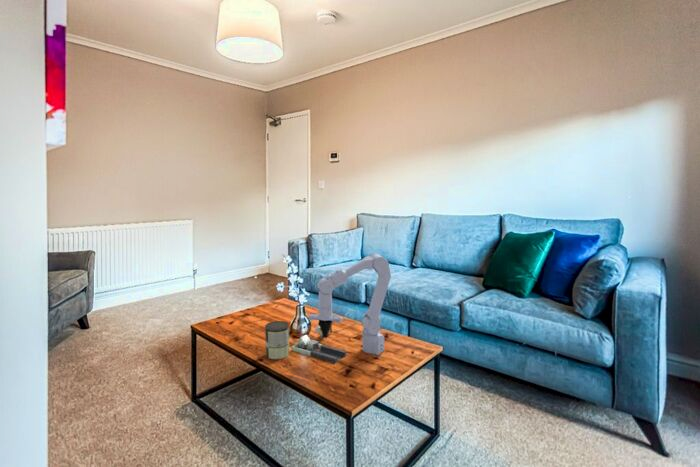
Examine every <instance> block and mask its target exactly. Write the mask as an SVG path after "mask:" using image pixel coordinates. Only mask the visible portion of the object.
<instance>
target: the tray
mask: <svg viewBox="0 0 700 467" xmlns="http://www.w3.org/2000/svg"><path fill="white" fill-rule="evenodd" d="M321 345H323V344H321V343H319V349H320V346H321ZM291 351H293V352H297V353H298V354H299V353H300V354H303V355H305V356H309V357H312V356H311V352H310V351H307V350H306V349H304V348H303V349H301V348H300V347H299V345H298V344H297V343H295V344H294V345H292V346H291Z"/></svg>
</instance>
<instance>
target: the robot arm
mask: <svg viewBox="0 0 700 467" xmlns="http://www.w3.org/2000/svg"><path fill="white" fill-rule="evenodd" d="M363 270H371V271H373V270H374V271H375V273H376V275H377V281H376V283H375V287H374V290H373V294H372V296H371V301H370V304H369V307H368V309H367V310H366V311H365V313H364V315H363V317H362V318H361V321H360V323H361V326H362V327H363V329H362V351H363V353H366V354H373V355H377V356H379V355H380V354H382V353H383V352H384V351H385V336H384V334H382V333H380V331H381V321H382V320H381V311H382V308H383V305H384V302H385V298H386V295H387V291H388V288H389V284H390V281H391V278H392V277H391V275H392V274H391V269H390V263H389V261H388V260H387V259H386V258H385V257H384V256H381V255H379V254H378V253H375V252H374V253H371V254H370V255H367V256H365V257H363V258H362V259H361V260H359V261H357V262H356V263H354V264H353V265H351V266H350V267H348V268H347V269H345V270H344V269H336V270H335V272H334V273H332V274H330V275H326V276H325V277H323V278H320V279H319V280H318V282H317V284H316V287H317V288H318V313H315V314H313V313H310V314H309V315H308V320H309V321H313V320H315V321H318V325H317V326H320V328H321V330H322V333H323V336H322V338H323V339H324V338H325V339H326V338H328V337H329V332H330V330H329V329H330V326H331V324H332V323H334V322H335V323H339V324H341V323H342V322H343V316H338V315H333V296H332V293H333V291H334V289H336V288H337V287H339V286H341V285H343V284H344V283H347V282H348V280H349V278H350V277H353V276H354V275H356V274H358V273H360V272H361V271H363ZM332 325H333V324H332Z"/></svg>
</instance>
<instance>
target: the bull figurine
mask: <svg viewBox="0 0 700 467" xmlns="http://www.w3.org/2000/svg"><path fill="white" fill-rule="evenodd" d="M332 328H333V324H331V326H330V329H329V332H330V335H332V334H333V333H332V332H333V330H332ZM313 332H314V333H317V334H319V336H320V339H322V338H323V340H324V341H325V340H326V338H324V337H323V333H322V330H321V328H320V326H319V325H316V326H315V329H314V330H313Z"/></svg>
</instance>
